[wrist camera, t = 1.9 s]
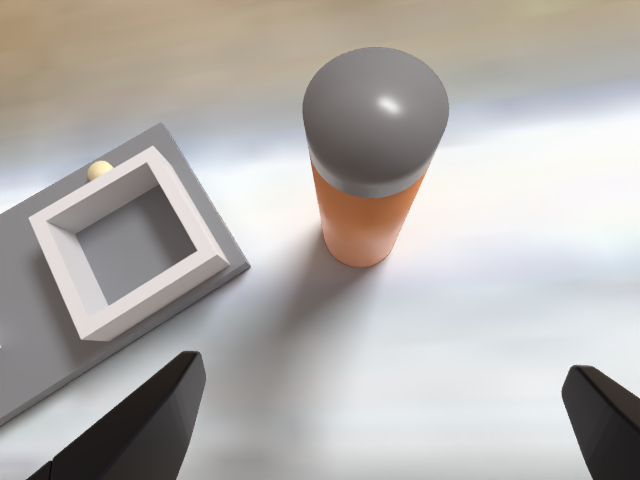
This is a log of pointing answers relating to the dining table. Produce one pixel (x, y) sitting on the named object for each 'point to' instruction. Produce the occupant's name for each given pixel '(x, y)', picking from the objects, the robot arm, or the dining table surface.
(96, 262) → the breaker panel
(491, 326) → the dining table surface
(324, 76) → the capped spray can
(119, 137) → the dining table surface
